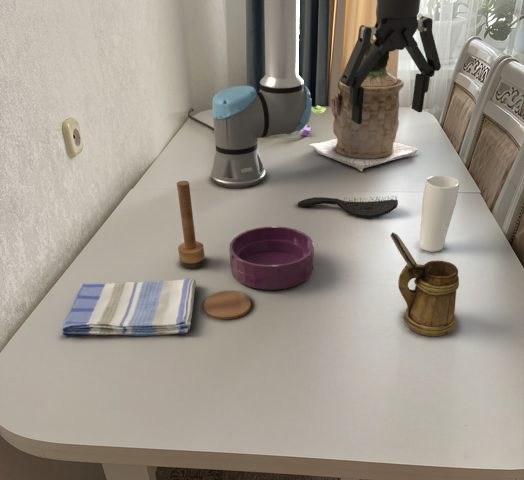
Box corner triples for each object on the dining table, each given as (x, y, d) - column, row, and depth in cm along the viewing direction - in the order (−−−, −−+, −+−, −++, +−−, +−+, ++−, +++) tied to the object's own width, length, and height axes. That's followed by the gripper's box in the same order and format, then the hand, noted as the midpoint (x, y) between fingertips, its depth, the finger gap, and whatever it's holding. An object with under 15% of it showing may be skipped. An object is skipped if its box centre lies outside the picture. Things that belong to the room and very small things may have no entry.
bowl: (217, 264, 118) (215, 239, 115) (285, 244, 125) (285, 219, 121) (256, 301, 106) (254, 275, 103) (329, 277, 113) (330, 251, 109)
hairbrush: (301, 188, 142) (399, 191, 136) (301, 202, 145) (398, 205, 138) (293, 201, 136) (396, 205, 130) (294, 215, 138) (395, 220, 132)
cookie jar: (420, 154, 167) (438, 35, 147) (360, 173, 157) (370, 47, 137) (364, 135, 183) (374, 25, 164) (306, 150, 173) (309, 35, 153)
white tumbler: (447, 242, 123) (461, 177, 114) (445, 256, 118) (458, 189, 109) (417, 238, 125) (427, 173, 116) (413, 252, 120) (424, 185, 111)
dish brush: (176, 261, 120) (164, 181, 109) (198, 254, 122) (189, 175, 111) (186, 272, 116) (175, 190, 105) (209, 265, 118) (200, 184, 107)
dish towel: (191, 336, 98) (189, 323, 96) (60, 340, 99) (56, 327, 97) (199, 285, 112) (198, 273, 110) (84, 288, 112) (81, 276, 110)
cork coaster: (196, 302, 107) (196, 299, 107) (237, 288, 110) (237, 286, 110) (216, 325, 101) (216, 322, 100) (259, 310, 104) (259, 307, 104)
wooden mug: (375, 308, 103) (386, 220, 92) (448, 308, 103) (467, 219, 92) (382, 337, 96) (395, 245, 85) (460, 336, 96) (483, 244, 85)
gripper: (344, 2, 89) (339, 133, 104) (474, -16, 95) (451, 111, 109) (325, -5, 95) (322, 120, 109) (448, -21, 100) (430, 100, 115)
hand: (387, 116), depth 109 cm, fingers open, 13 cm apart
